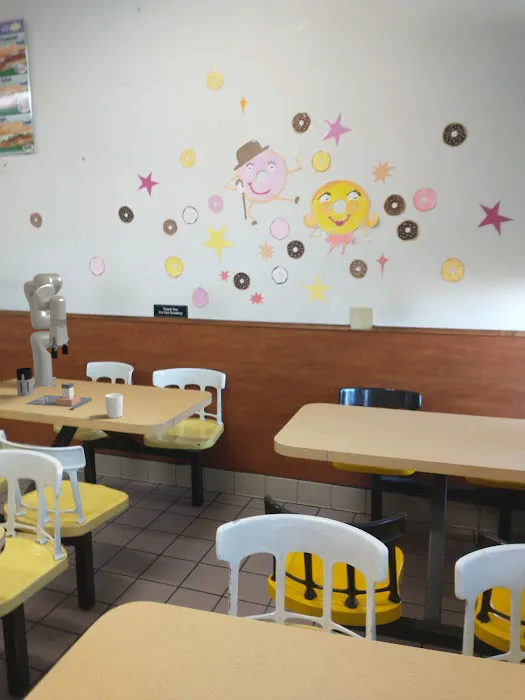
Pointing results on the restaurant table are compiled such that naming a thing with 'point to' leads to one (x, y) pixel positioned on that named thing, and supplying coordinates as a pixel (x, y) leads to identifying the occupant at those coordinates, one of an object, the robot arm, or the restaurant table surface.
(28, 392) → the glass holder
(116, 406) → the white cup
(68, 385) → the salt shaker
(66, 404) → the board
